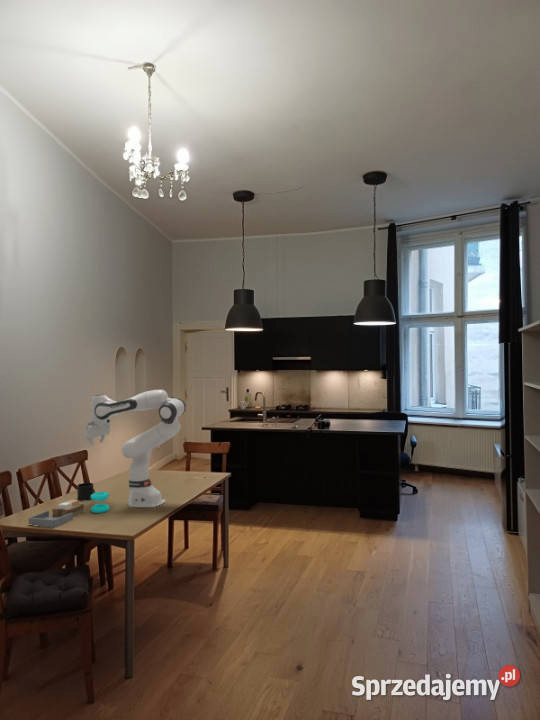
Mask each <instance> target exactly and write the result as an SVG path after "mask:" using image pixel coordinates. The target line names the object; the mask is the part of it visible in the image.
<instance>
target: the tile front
mask: <svg viewBox="0 0 540 720" xmlns="http://www.w3.org/2000/svg"><path fill="white" fill-rule="evenodd" d="M57 507H58V508H59V509H68V508H70V507H72V503H70V502H66V501H64V502H62V503H59V504H58V506H57Z"/></svg>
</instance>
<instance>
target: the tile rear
mask: <svg viewBox="0 0 540 720" xmlns="http://www.w3.org/2000/svg"><path fill="white" fill-rule="evenodd" d="M65 502H70V503H72V506H75V505H78V504H80V501H79V500H78V499H69V500H67V501H65Z"/></svg>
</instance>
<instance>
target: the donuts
mask: <svg viewBox="0 0 540 720" xmlns="http://www.w3.org/2000/svg"><path fill="white" fill-rule="evenodd" d="M109 496H110V493H109V492H106V491H98V492H97V491H96V492H95V493H94V492H93V494H92V495H91V500H92V501H94V502H100V501H101V502H102V501H106V500H107V499H109ZM109 510H110V505H109V504H107V503H96V504H94V505H92V506H91V508H90V511H91V512H92V513H95V514H101V513H105V512H107V511H109Z"/></svg>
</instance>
